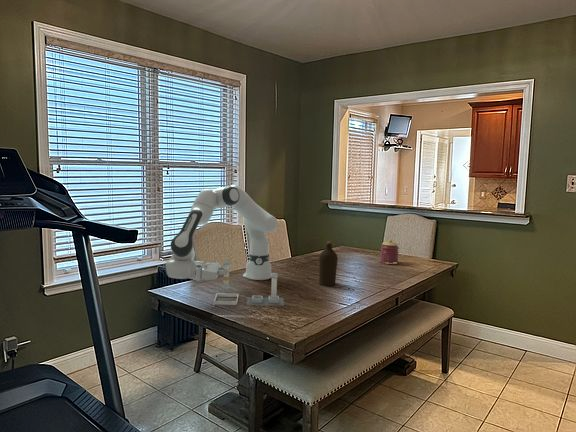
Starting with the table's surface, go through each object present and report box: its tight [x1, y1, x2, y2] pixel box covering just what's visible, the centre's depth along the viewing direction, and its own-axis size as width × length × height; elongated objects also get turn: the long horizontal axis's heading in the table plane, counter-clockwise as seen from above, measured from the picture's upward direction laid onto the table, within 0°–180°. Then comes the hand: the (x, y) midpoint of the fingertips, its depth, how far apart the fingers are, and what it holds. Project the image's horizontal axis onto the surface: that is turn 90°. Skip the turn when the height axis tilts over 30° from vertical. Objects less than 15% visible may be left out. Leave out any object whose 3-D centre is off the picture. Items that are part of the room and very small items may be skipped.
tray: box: [213, 292, 240, 306], centre depth 215 cm, size 13×11×2 cm
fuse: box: [270, 272, 278, 299], centre depth 215 cm, size 3×3×14 cm
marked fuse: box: [222, 258, 231, 290], centre depth 213 cm, size 3×3×14 cm
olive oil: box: [318, 240, 338, 287], centre depth 254 cm, size 11×11×25 cm
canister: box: [379, 238, 400, 263], centre depth 319 cm, size 13×13×18 cm
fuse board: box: [246, 294, 285, 306], centre depth 216 cm, size 12×18×3 cm, turn 93°
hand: (228, 271), depth 213 cm, fingers closed on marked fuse, 3 cm apart
